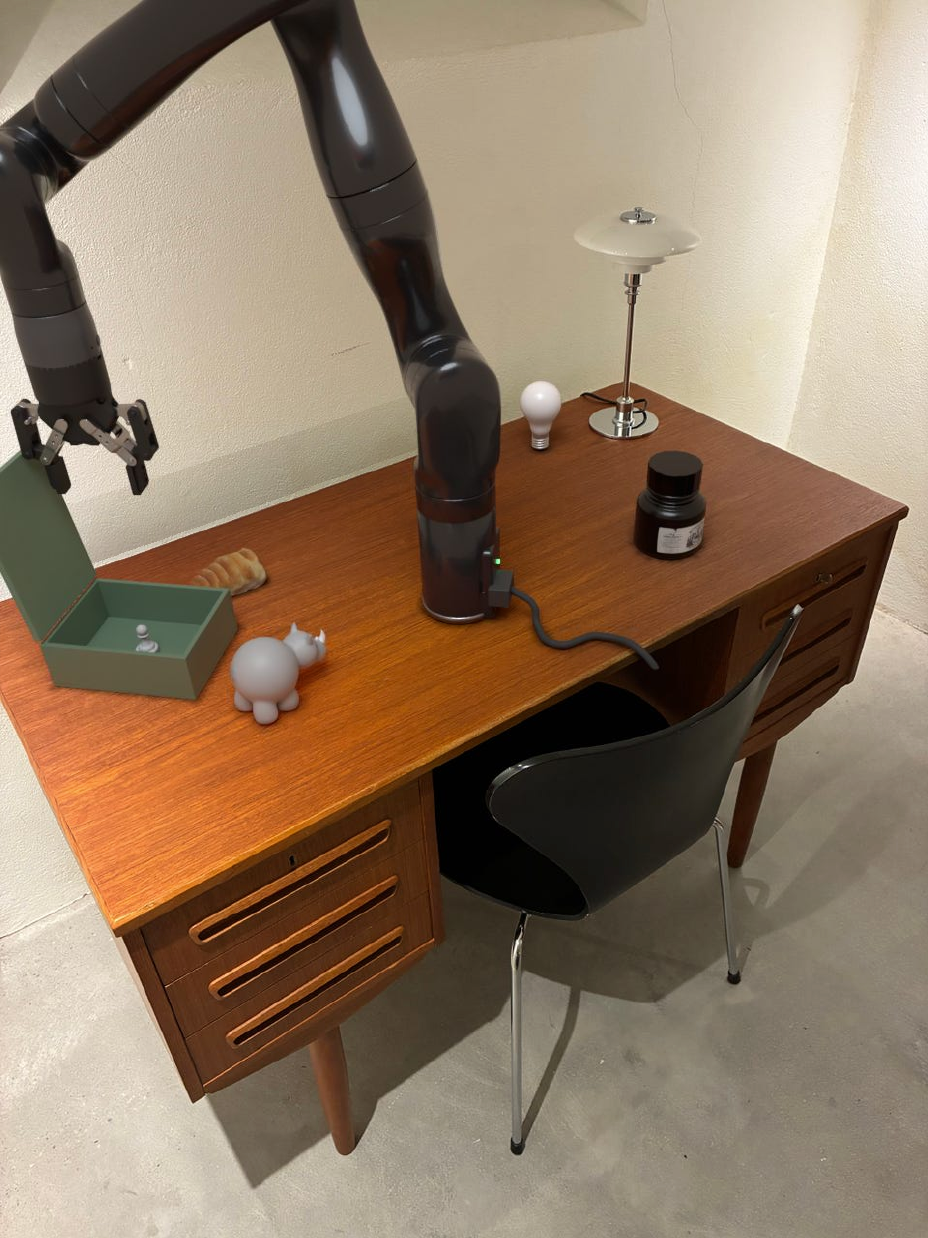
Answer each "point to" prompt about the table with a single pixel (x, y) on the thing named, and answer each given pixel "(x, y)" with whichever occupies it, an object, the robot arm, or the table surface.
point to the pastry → (232, 573)
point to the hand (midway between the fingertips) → (102, 491)
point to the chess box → (107, 639)
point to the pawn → (145, 641)
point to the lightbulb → (540, 410)
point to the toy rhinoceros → (273, 672)
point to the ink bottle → (671, 506)
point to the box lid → (39, 546)
